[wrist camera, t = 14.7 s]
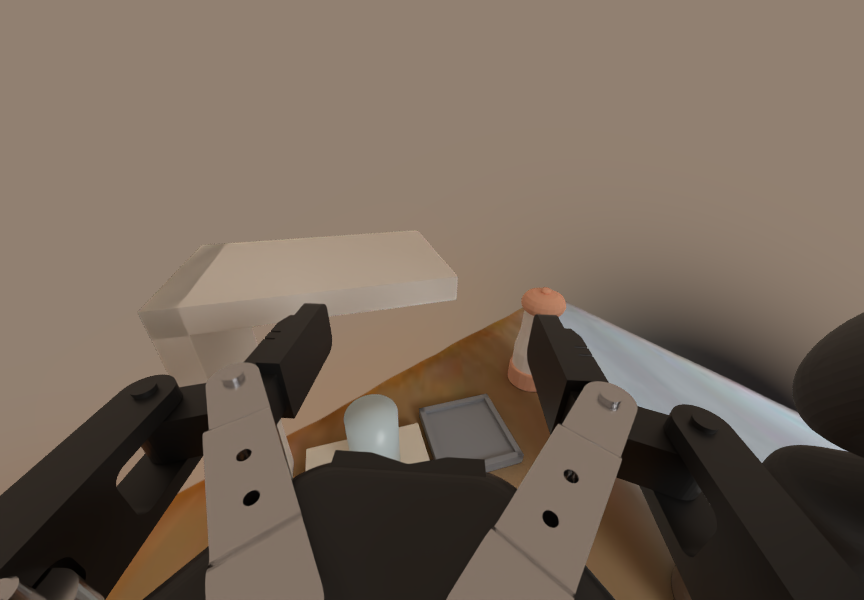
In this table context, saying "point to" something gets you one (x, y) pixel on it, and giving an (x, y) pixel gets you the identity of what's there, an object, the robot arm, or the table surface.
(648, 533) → the table surface
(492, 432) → the tray
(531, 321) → the pepper shaker
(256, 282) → the white c-shaped stand
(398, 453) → the pale grey cylinder
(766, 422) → the table surface
